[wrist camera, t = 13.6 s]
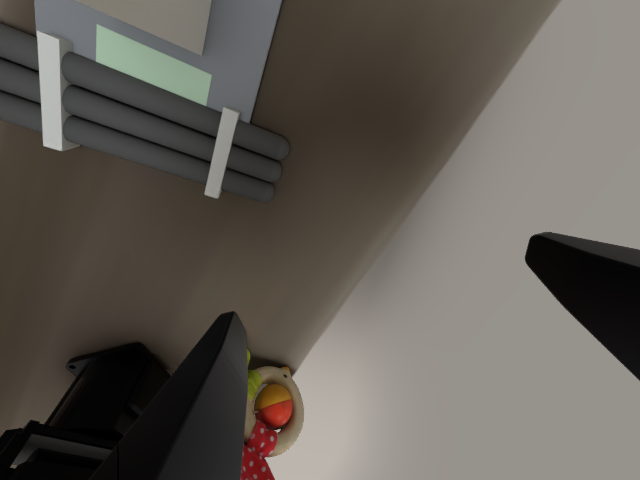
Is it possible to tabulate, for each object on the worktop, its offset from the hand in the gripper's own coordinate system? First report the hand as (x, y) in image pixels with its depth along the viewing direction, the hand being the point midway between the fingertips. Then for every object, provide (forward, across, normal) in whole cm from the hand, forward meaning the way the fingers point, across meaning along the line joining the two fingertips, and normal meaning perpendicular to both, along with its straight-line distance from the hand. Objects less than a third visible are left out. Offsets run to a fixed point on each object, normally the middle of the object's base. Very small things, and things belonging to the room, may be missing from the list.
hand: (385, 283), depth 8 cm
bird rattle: (+12, +10, +18) cm, 24 cm away
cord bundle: (+12, +9, -5) cm, 16 cm away
